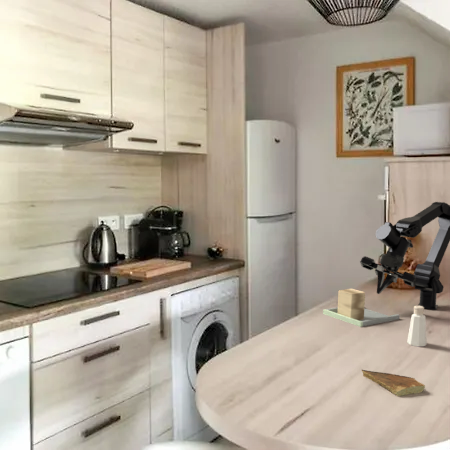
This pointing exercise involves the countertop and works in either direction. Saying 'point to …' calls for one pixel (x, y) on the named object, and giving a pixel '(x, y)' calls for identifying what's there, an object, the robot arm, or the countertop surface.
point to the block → (351, 303)
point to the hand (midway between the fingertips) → (377, 293)
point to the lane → (369, 317)
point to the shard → (395, 382)
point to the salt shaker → (417, 328)
